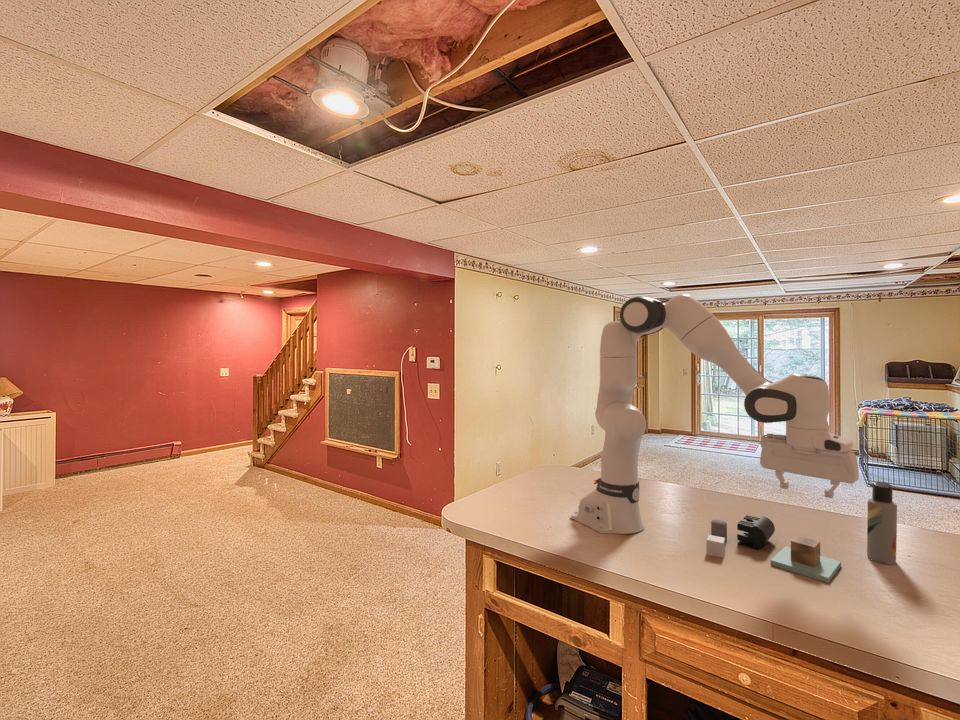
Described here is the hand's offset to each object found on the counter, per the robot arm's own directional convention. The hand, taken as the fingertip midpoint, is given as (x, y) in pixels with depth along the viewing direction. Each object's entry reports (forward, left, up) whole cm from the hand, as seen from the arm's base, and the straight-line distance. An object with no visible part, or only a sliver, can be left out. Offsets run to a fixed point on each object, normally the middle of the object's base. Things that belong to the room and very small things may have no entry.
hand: (806, 492), depth 115 cm
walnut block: (0, 0, -18) cm, 18 cm away
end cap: (-13, +5, -19) cm, 24 cm away
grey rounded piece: (-21, 0, -19) cm, 28 cm away
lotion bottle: (+12, +18, -19) cm, 29 cm away
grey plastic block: (-18, -9, -19) cm, 28 cm away
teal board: (0, 0, -19) cm, 19 cm away
